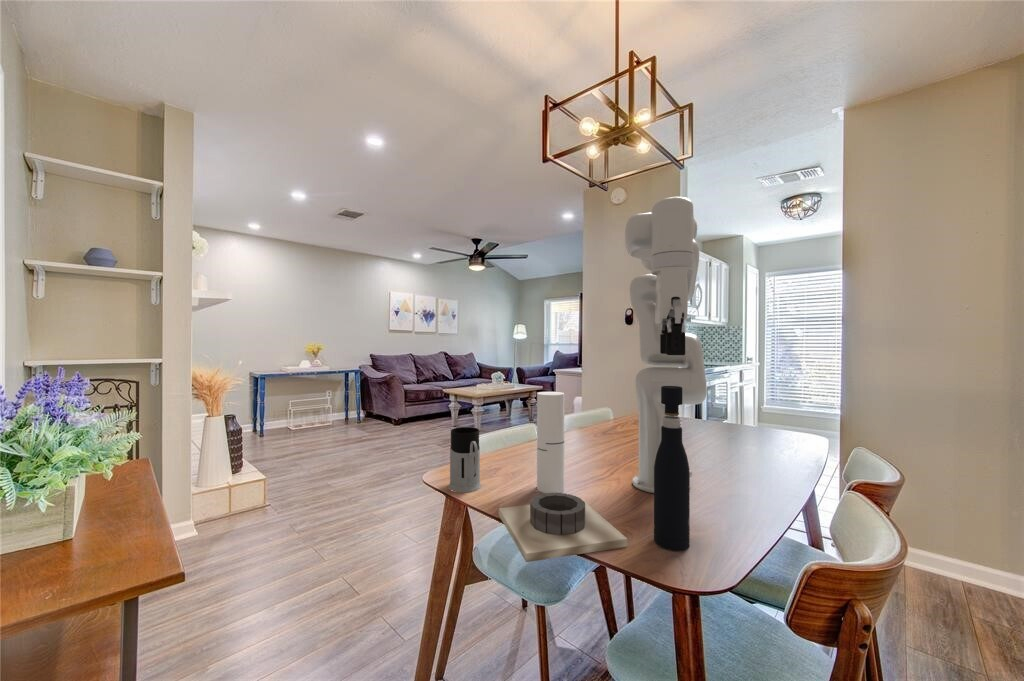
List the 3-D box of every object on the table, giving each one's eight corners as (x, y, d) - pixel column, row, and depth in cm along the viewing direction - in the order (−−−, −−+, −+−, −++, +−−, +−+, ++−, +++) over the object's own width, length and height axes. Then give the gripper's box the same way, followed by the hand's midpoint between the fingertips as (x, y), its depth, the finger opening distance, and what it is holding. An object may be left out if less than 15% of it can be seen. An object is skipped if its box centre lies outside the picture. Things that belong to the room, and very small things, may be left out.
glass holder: (475, 479, 114) (475, 425, 114) (493, 497, 101) (493, 436, 101) (444, 483, 111) (444, 428, 111) (459, 502, 98) (459, 440, 98)
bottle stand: (581, 505, 96) (581, 481, 96) (627, 546, 77) (627, 517, 77) (498, 515, 91) (498, 490, 91) (526, 562, 72) (526, 530, 72)
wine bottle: (648, 535, 82) (648, 385, 82) (679, 534, 82) (679, 384, 82) (662, 552, 75) (663, 389, 75) (696, 550, 76) (696, 388, 76)
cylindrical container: (563, 494, 103) (563, 395, 103) (535, 492, 104) (535, 394, 104) (565, 484, 110) (565, 391, 110) (539, 483, 111) (539, 391, 111)
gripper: (647, 273, 88) (647, 353, 88) (655, 256, 71) (655, 355, 71) (685, 272, 86) (685, 353, 86) (702, 254, 69) (702, 356, 69)
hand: (671, 354), depth 78 cm, fingers open, 9 cm apart
